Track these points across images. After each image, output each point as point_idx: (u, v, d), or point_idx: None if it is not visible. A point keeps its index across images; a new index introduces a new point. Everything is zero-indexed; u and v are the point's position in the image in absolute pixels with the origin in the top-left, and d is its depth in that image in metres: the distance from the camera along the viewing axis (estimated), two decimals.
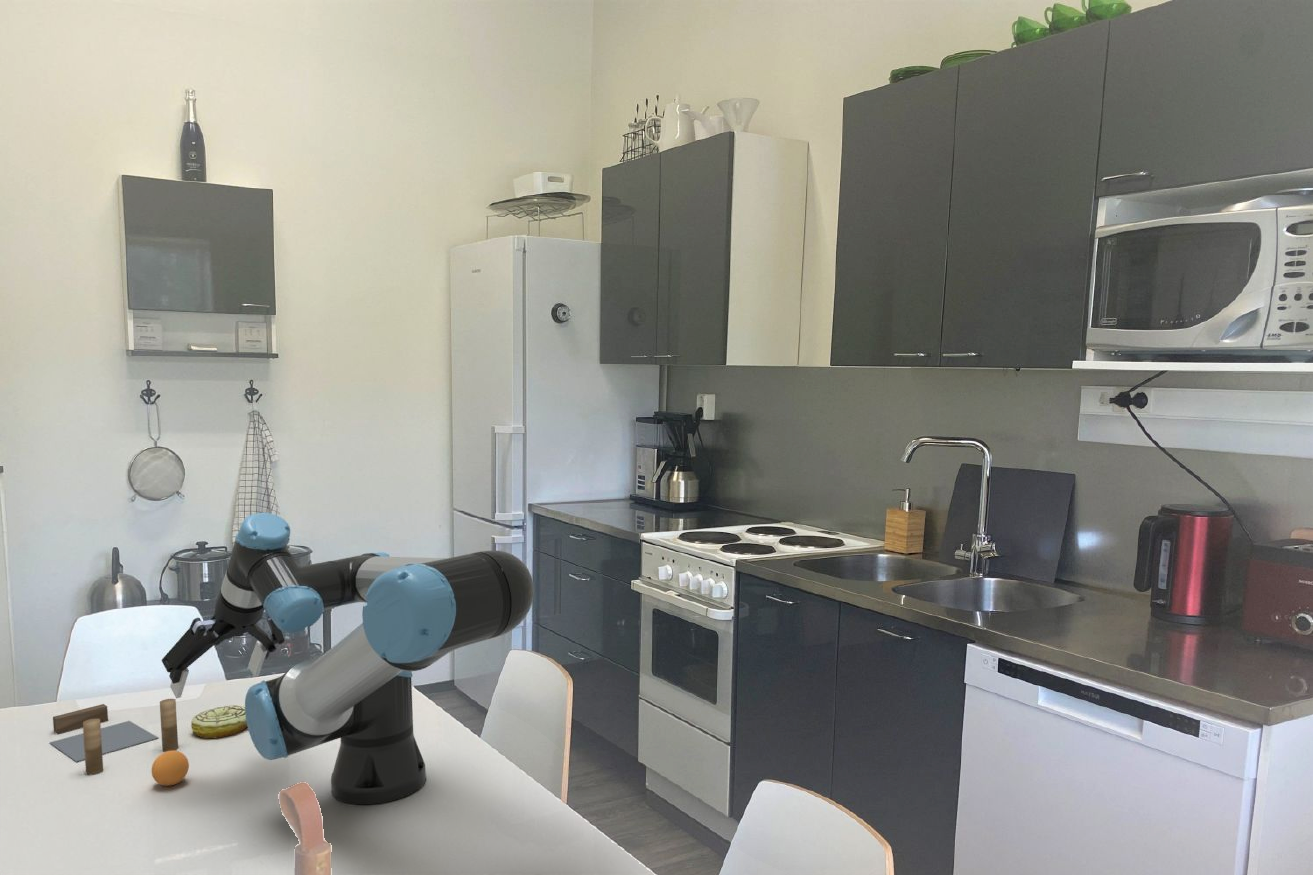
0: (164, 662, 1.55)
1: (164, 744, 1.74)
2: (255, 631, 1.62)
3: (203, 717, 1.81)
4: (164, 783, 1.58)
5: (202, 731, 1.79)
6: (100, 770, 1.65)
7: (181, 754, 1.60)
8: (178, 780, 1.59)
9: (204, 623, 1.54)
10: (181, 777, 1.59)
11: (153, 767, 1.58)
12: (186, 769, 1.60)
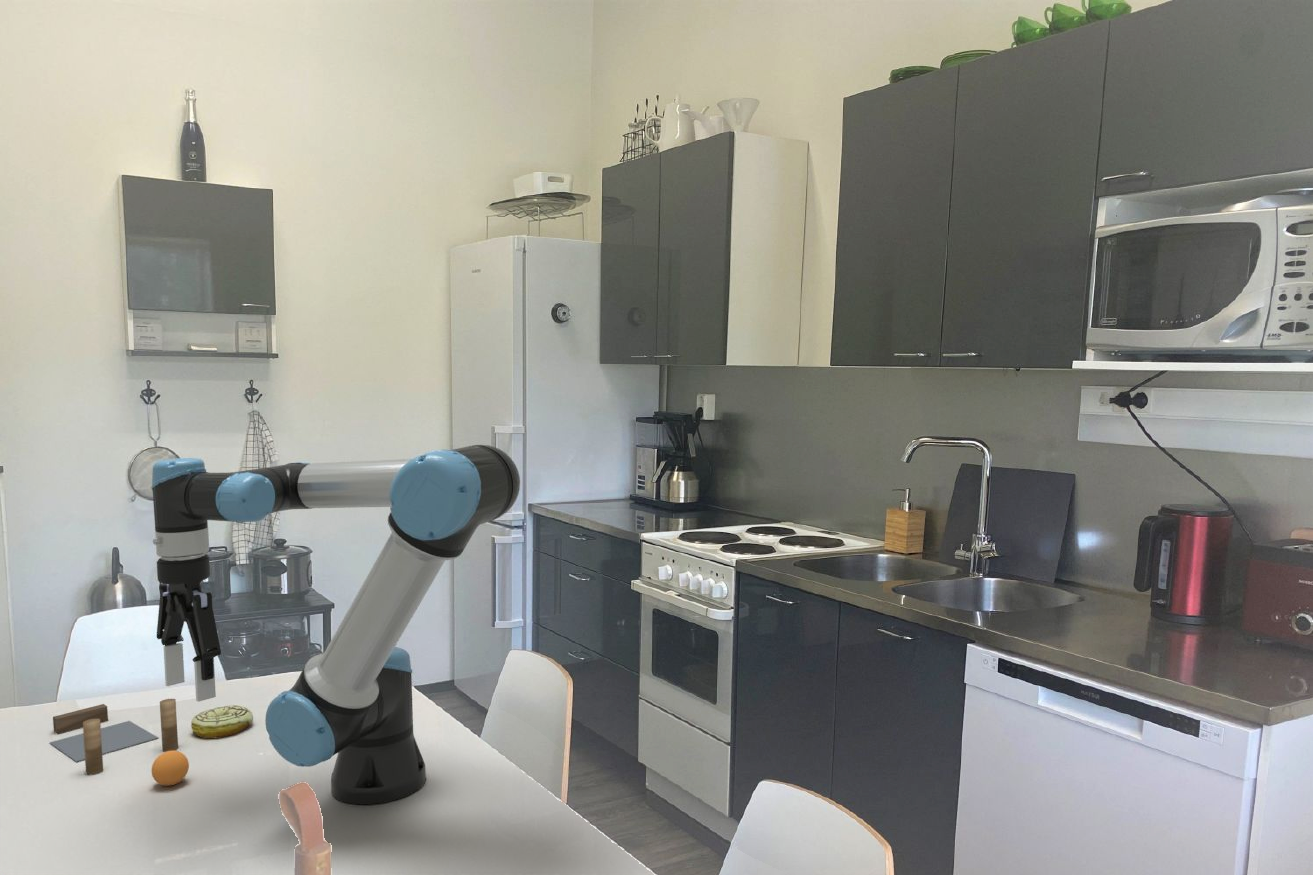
0: (210, 652, 1.46)
1: (164, 744, 1.74)
2: None
3: (203, 717, 1.81)
4: (164, 783, 1.58)
5: (202, 731, 1.79)
6: (100, 770, 1.65)
7: (181, 754, 1.60)
8: (178, 780, 1.59)
9: (201, 593, 1.48)
10: (181, 777, 1.59)
11: (153, 767, 1.58)
12: (186, 769, 1.60)
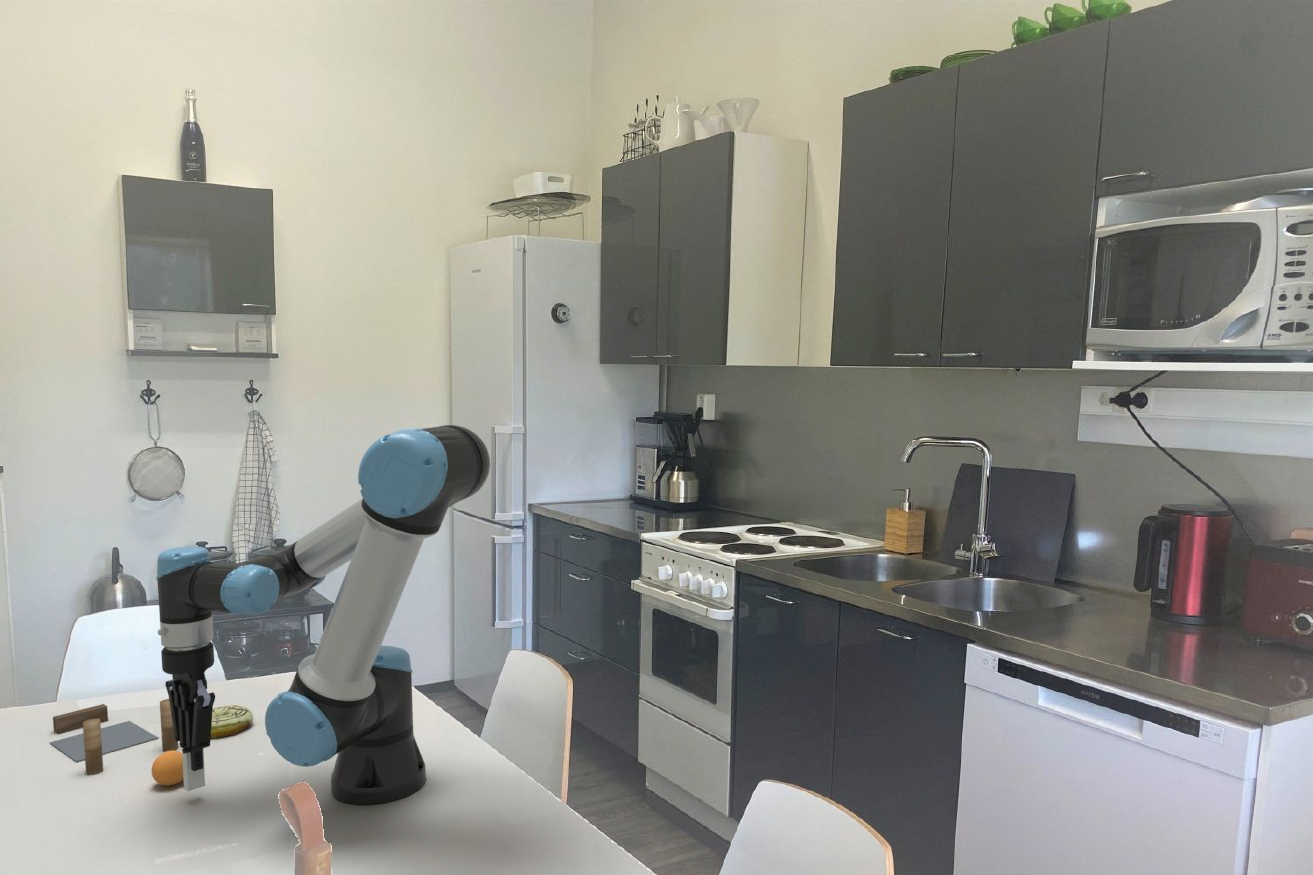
0: (199, 744, 1.50)
1: (164, 744, 1.74)
2: None
3: None
4: (164, 783, 1.58)
5: None
6: (100, 770, 1.65)
7: (181, 754, 1.60)
8: (178, 780, 1.59)
9: (206, 693, 1.49)
10: (181, 777, 1.59)
11: (153, 767, 1.58)
12: None
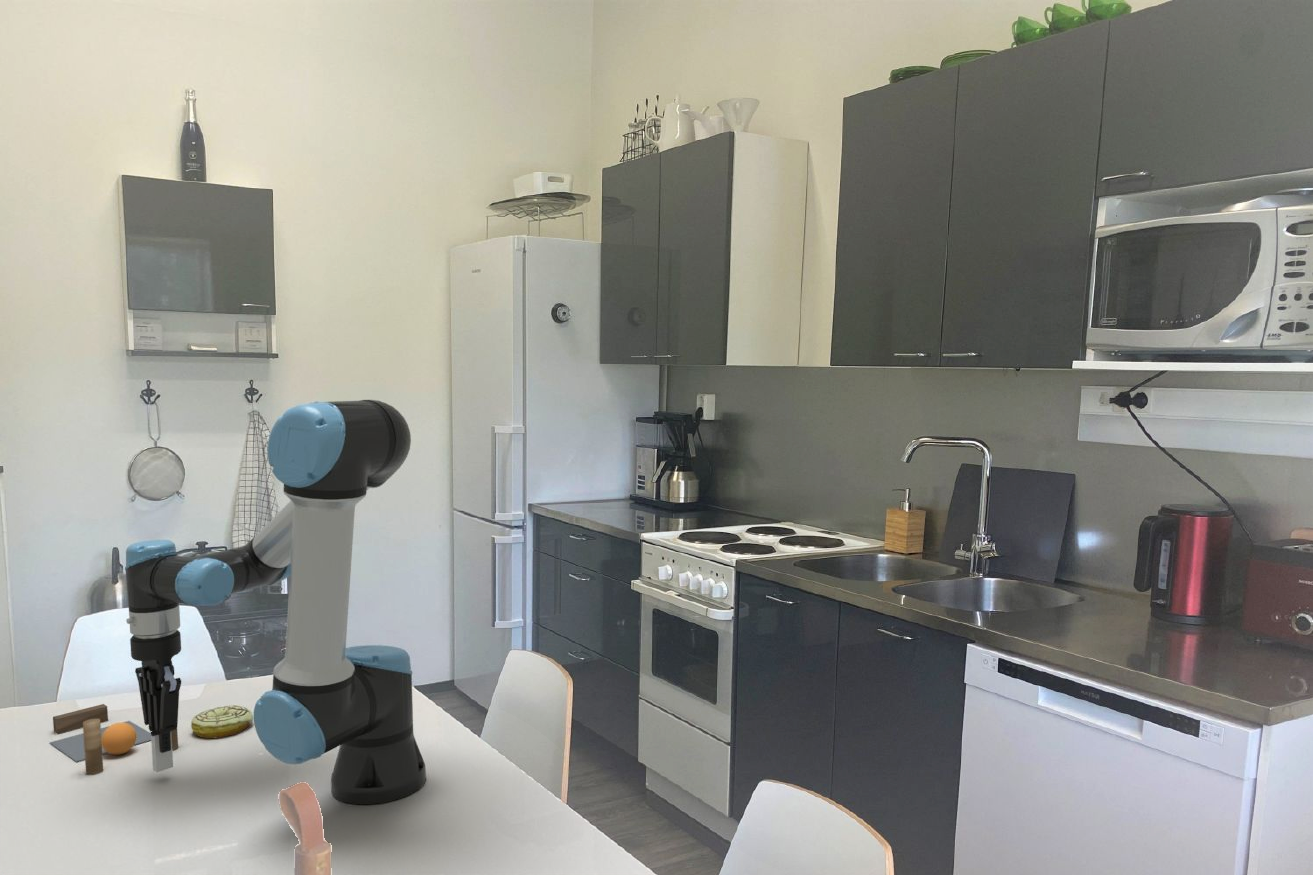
0: (167, 727, 1.59)
1: None
2: None
3: (203, 717, 1.81)
4: (113, 741, 1.71)
5: (202, 731, 1.79)
6: (100, 770, 1.65)
7: None
8: (126, 735, 1.72)
9: (172, 678, 1.57)
10: (127, 732, 1.72)
11: (101, 740, 1.72)
12: (131, 727, 1.74)
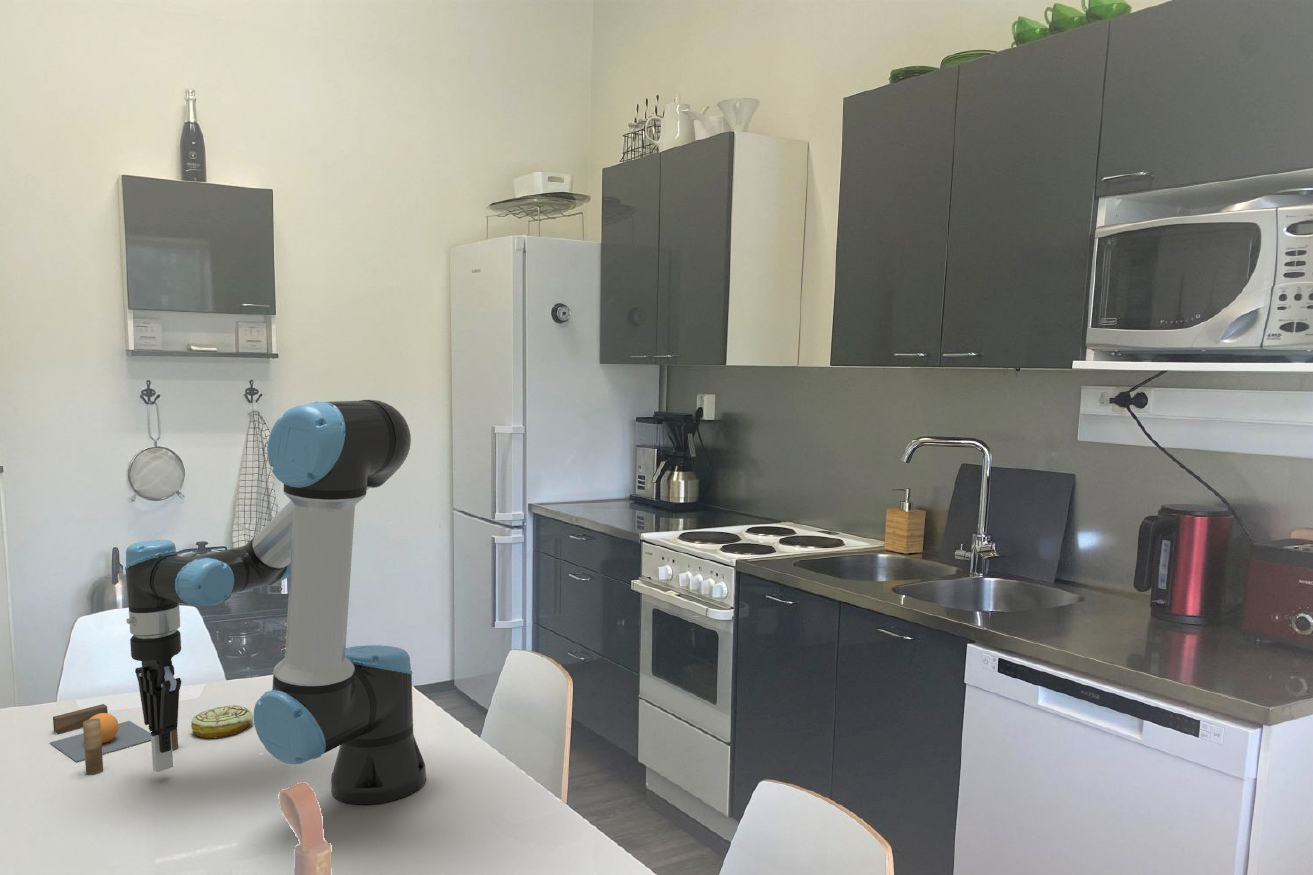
0: (167, 727, 1.59)
1: None
2: None
3: (203, 717, 1.81)
4: None
5: (202, 731, 1.79)
6: (100, 770, 1.65)
7: (112, 738, 1.79)
8: None
9: (172, 678, 1.57)
10: None
11: None
12: None
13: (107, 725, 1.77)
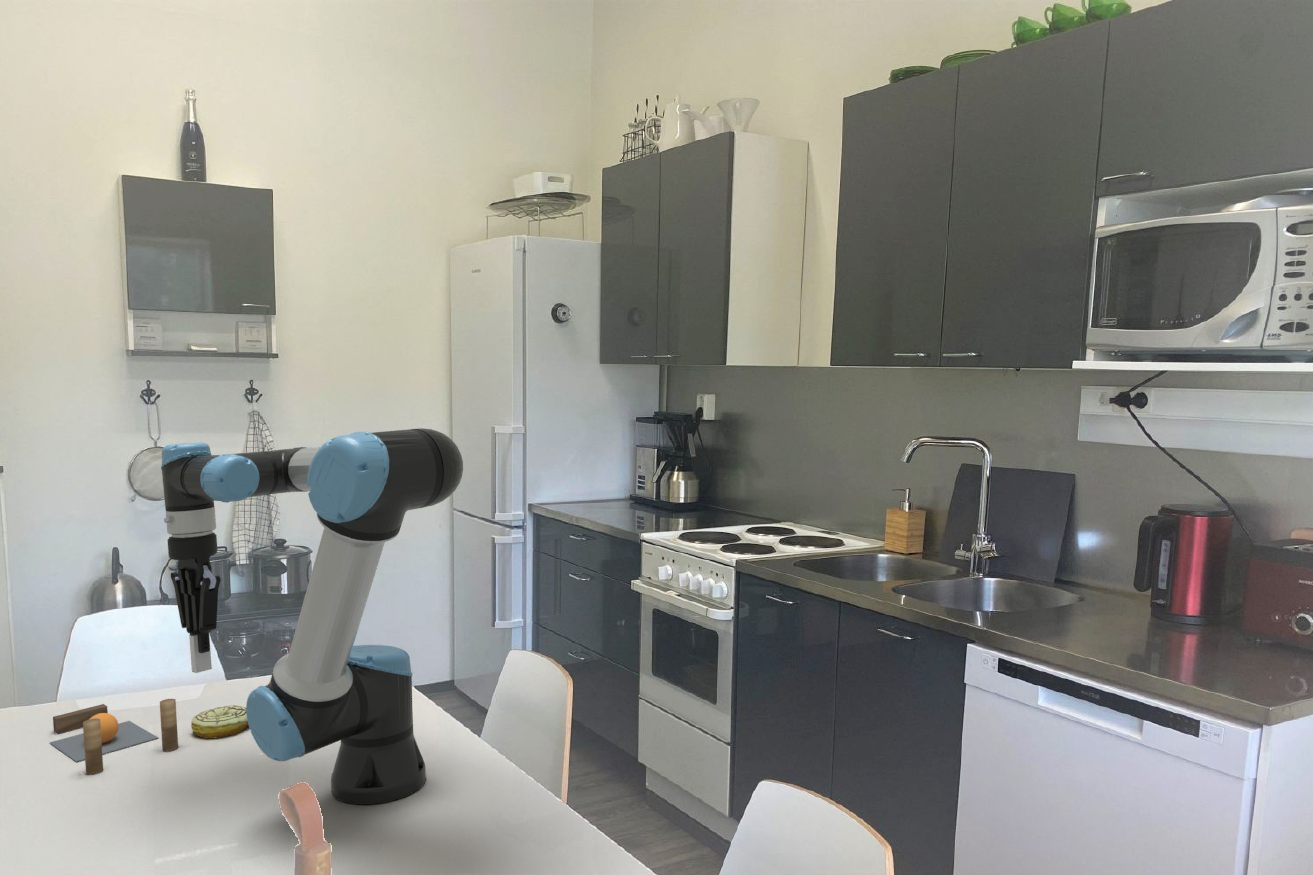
0: (206, 626, 1.60)
1: (164, 744, 1.74)
2: None
3: (203, 717, 1.81)
4: None
5: (202, 731, 1.79)
6: (100, 770, 1.65)
7: (112, 738, 1.79)
8: None
9: (211, 576, 1.58)
10: None
11: None
12: None
13: (107, 725, 1.77)
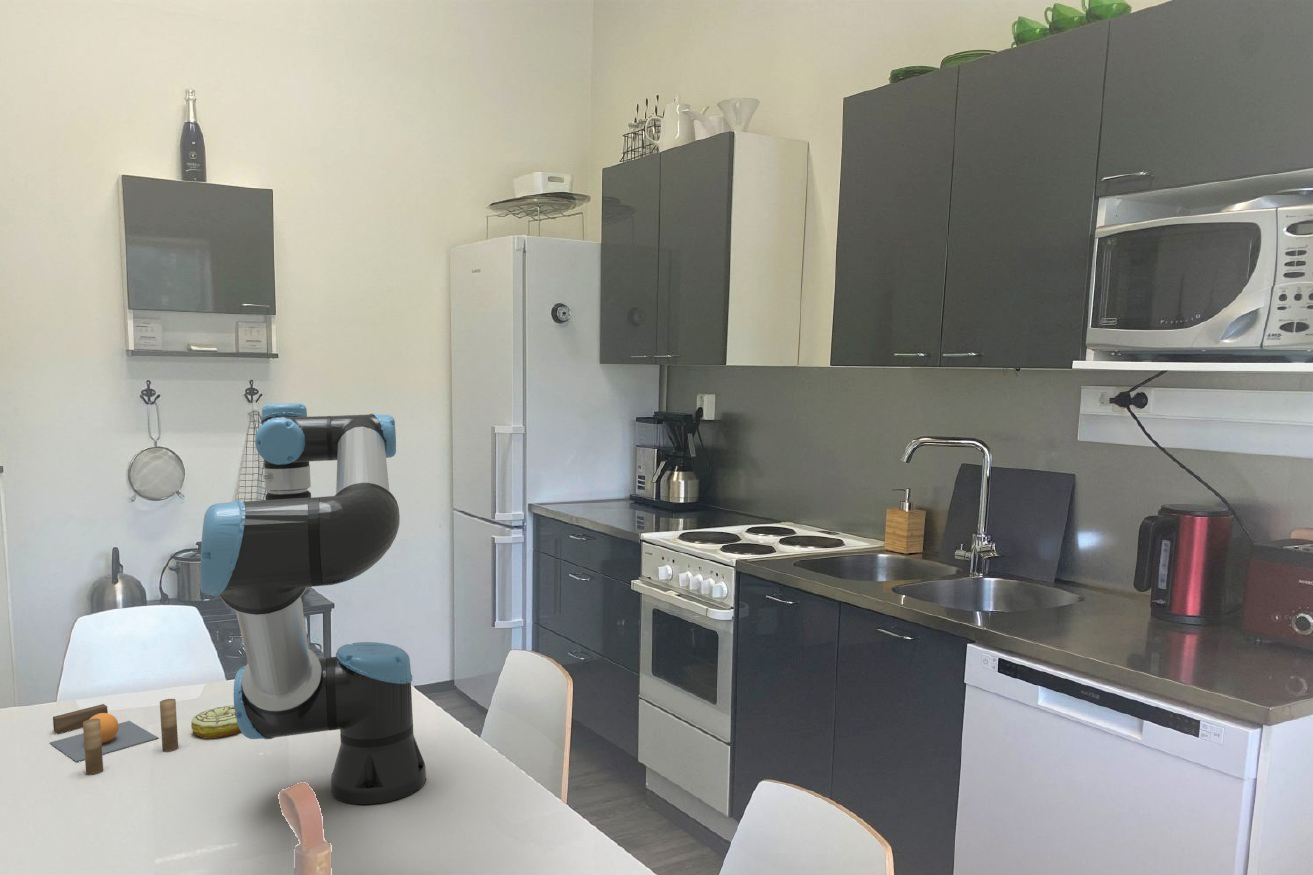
0: None
1: (164, 744, 1.74)
2: None
3: (203, 717, 1.81)
4: None
5: (202, 731, 1.79)
6: (100, 770, 1.65)
7: (112, 738, 1.79)
8: None
9: None
10: None
11: None
12: None
13: (107, 725, 1.77)
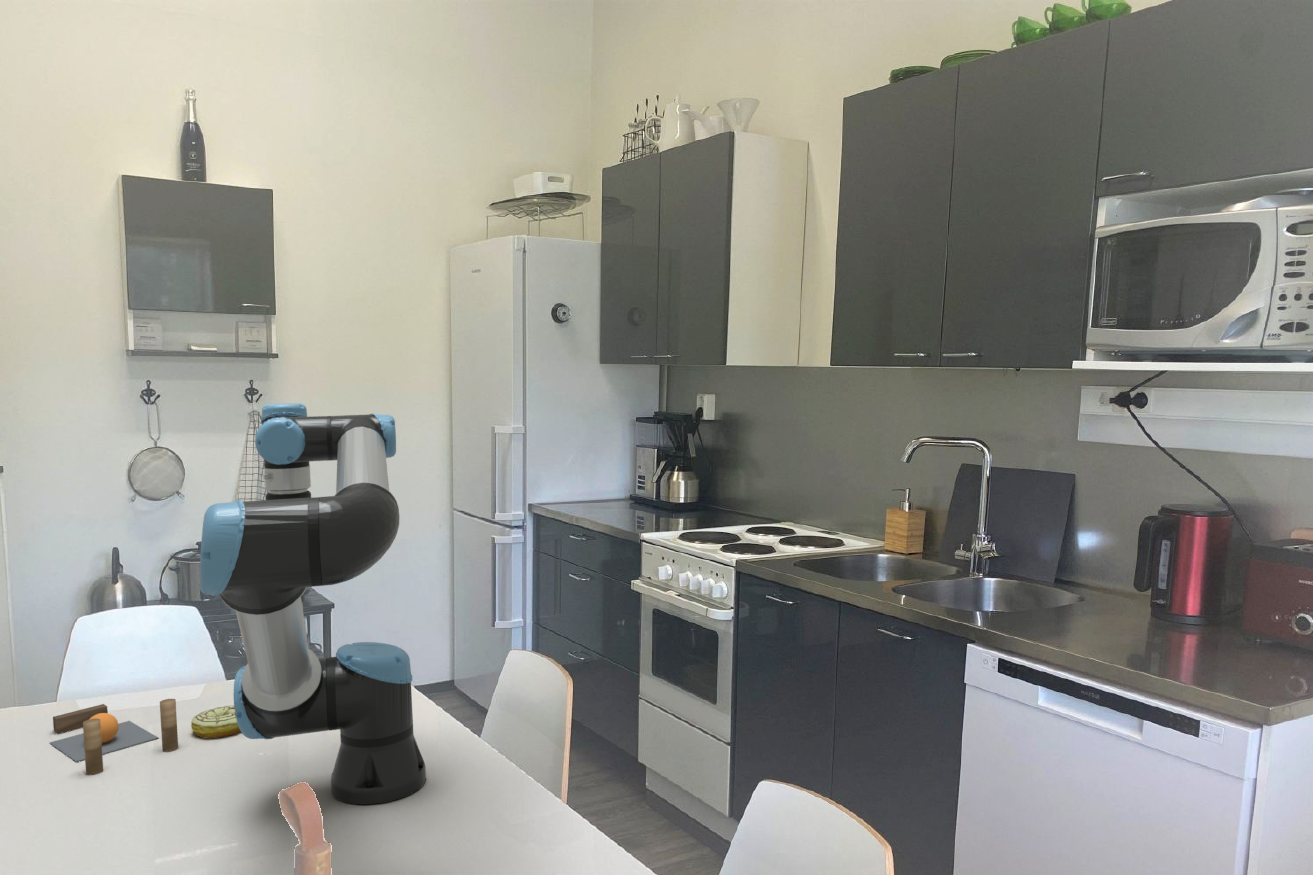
0: None
1: (164, 744, 1.74)
2: None
3: (203, 717, 1.81)
4: None
5: (202, 731, 1.79)
6: (100, 770, 1.65)
7: (112, 738, 1.79)
8: None
9: None
10: None
11: None
12: None
13: (107, 725, 1.77)
